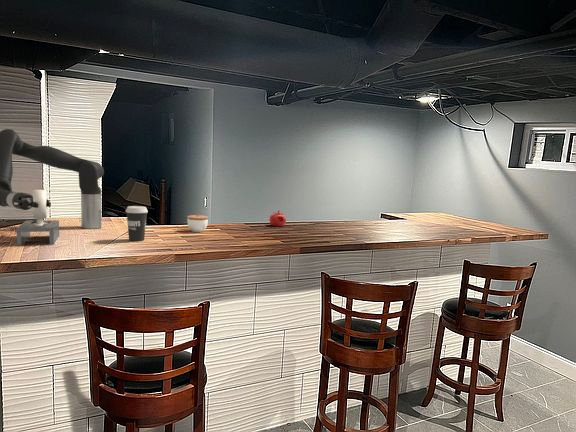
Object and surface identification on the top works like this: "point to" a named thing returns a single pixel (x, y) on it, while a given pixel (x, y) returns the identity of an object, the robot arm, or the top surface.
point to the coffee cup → (136, 222)
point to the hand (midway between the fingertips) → (43, 204)
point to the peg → (39, 206)
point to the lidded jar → (197, 222)
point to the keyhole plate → (38, 230)
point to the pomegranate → (277, 219)
